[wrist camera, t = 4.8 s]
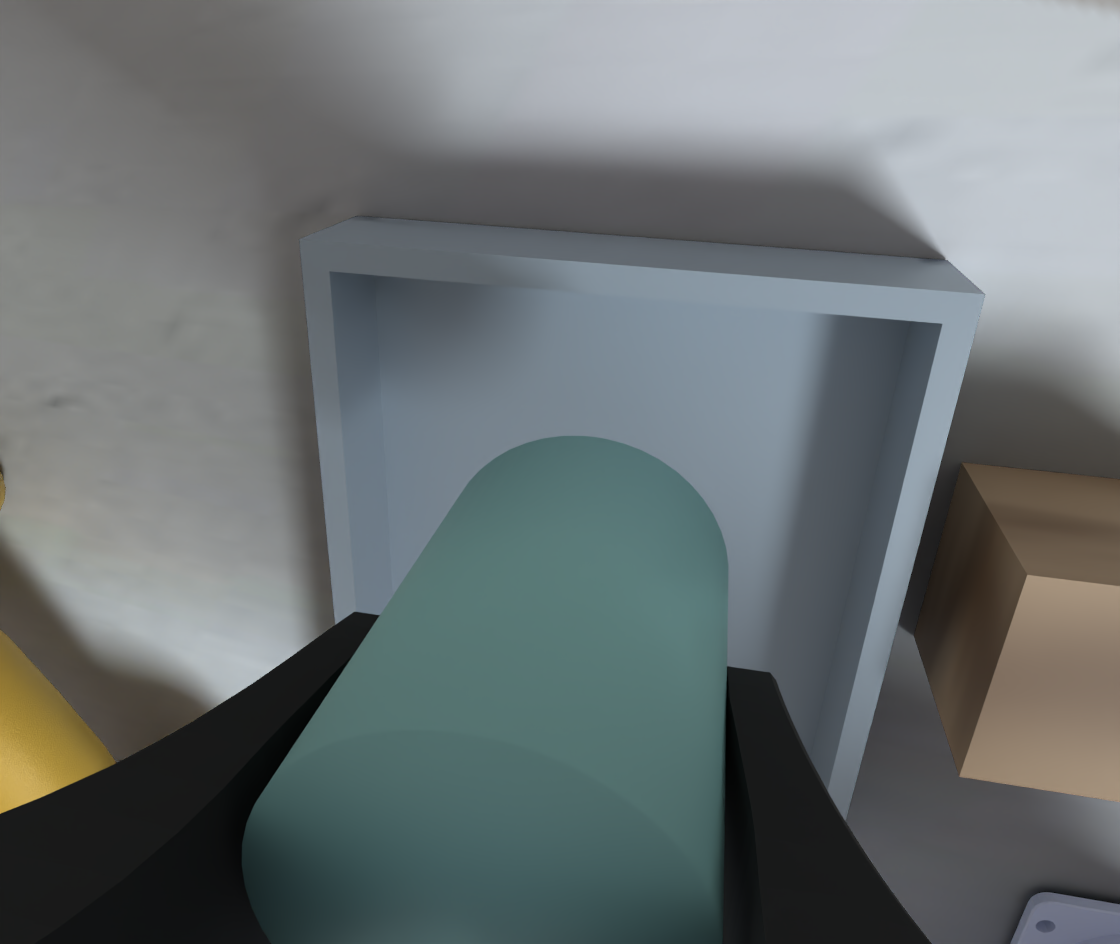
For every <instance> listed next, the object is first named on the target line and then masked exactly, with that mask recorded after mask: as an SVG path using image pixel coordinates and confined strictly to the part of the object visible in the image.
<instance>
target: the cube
mask: <svg viewBox="0 0 1120 944" xmlns="http://www.w3.org/2000/svg"><path fill="white" fill-rule="evenodd" d="M914 637H915V641H916V644H917V647H918V650H919V653H920V656H921V659H922V662H923V665H924V668H925V672H926V675H927V678H928V681H929V684H930V687H931V690H932V693H933V696H934V700H935V703H936V706H937V709H938V712H939V715H940V718H941V721H942V724H943V728H944V731H945V734H946V737H947V740H948V743H949V746H950V749H951V752H952V755H953V759H954V762H955V765H956V768H957V771H958V774H959V777H964V778H971V779H977V780H983V781H990V782H996V783H1002V784H1009V785H1015V786H1021V787H1028V788H1034V789H1040V790H1047V791H1053V792H1059V793H1066V794H1072V795H1078V796H1085V797H1091V798H1098V799H1104V800H1110V801H1117V802H1120V479H1113V478H1104V477H1094V476H1085V475H1076V474H1066V473H1057V472H1048V471H1038V470H1029V469H1019V468H1010V467H1001V466H991V465H982V464H973V463H963V462H962V464H961V467H960V471H959V474H958V478H957V482H956V485H955V489H954V493H953V496H952V500H951V503H950V507H949V511H948V514H947V518H946V521H945V525H944V529H943V532H942V536H941V539H940V543H939V547H938V550H937V554H936V558H935V561H934V565H933V568H932V572H931V576H930V579H929V583H928V586H927V590H926V594H925V597H924V601H923V604H922V608H921V612H920V615H919V619H918V623H917V626H916V630H915V633H914Z"/></svg>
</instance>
